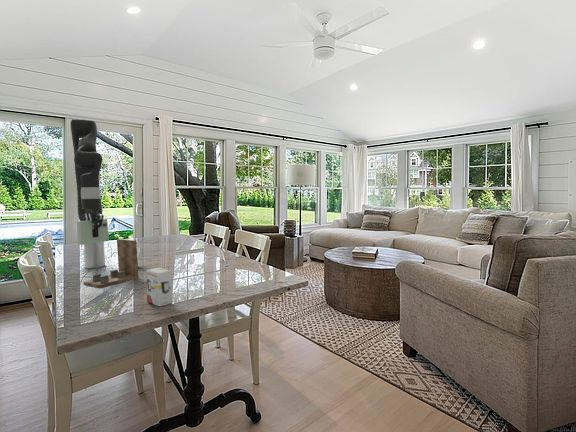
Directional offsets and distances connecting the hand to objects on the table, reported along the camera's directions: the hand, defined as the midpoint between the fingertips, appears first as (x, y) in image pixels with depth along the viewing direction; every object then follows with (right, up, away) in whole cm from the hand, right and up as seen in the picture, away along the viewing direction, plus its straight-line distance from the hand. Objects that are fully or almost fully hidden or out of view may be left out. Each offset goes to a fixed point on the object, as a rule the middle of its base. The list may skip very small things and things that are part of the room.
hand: (93, 236), depth 150 cm
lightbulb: (+5, -17, +28) cm, 34 cm away
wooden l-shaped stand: (+8, -19, +1) cm, 21 cm away
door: (0, -3, 0) cm, 3 cm away
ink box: (+40, -22, -29) cm, 54 cm away
